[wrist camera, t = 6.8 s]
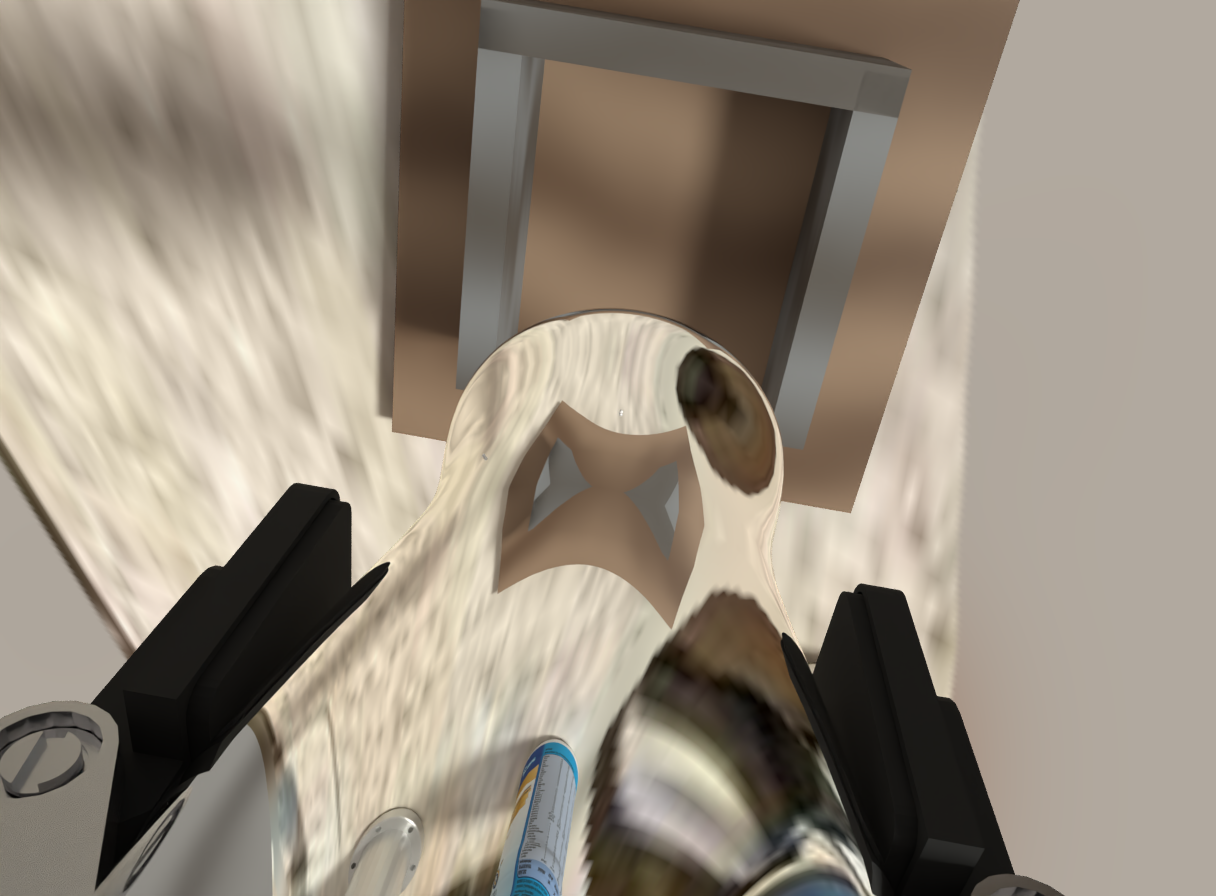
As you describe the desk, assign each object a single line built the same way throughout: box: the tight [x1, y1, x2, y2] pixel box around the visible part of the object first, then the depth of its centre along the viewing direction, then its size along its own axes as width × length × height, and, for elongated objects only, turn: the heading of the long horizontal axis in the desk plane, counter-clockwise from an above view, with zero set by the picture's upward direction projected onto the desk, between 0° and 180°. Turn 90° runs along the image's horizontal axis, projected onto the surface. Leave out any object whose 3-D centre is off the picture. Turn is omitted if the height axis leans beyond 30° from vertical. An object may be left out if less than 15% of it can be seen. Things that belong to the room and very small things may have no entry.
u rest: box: [392, 0, 1020, 513], centre depth 28 cm, size 20×18×5 cm
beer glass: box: [92, 308, 895, 896], centre depth 10 cm, size 7×7×15 cm
